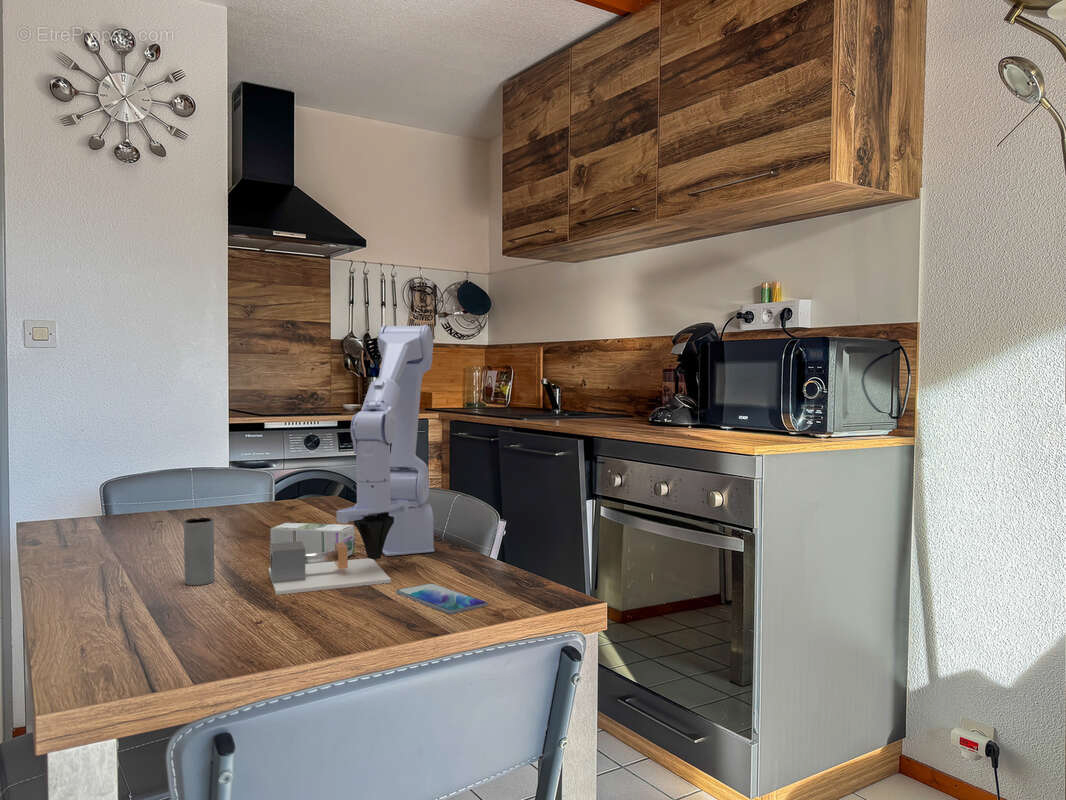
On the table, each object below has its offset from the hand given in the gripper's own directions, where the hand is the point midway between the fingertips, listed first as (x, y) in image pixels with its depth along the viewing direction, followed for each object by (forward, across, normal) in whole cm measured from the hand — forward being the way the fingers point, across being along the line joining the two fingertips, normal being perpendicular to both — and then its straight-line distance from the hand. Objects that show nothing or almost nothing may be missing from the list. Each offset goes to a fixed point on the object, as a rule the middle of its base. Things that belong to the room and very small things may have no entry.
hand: (374, 558), depth 134 cm
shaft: (+1, +8, -5) cm, 10 cm away
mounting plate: (+2, +7, -4) cm, 8 cm away
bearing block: (+2, +12, -7) cm, 15 cm away
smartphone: (+3, +5, +20) cm, 21 cm away
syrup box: (-1, +2, -25) cm, 25 cm away
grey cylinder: (+3, +22, -18) cm, 28 cm away
